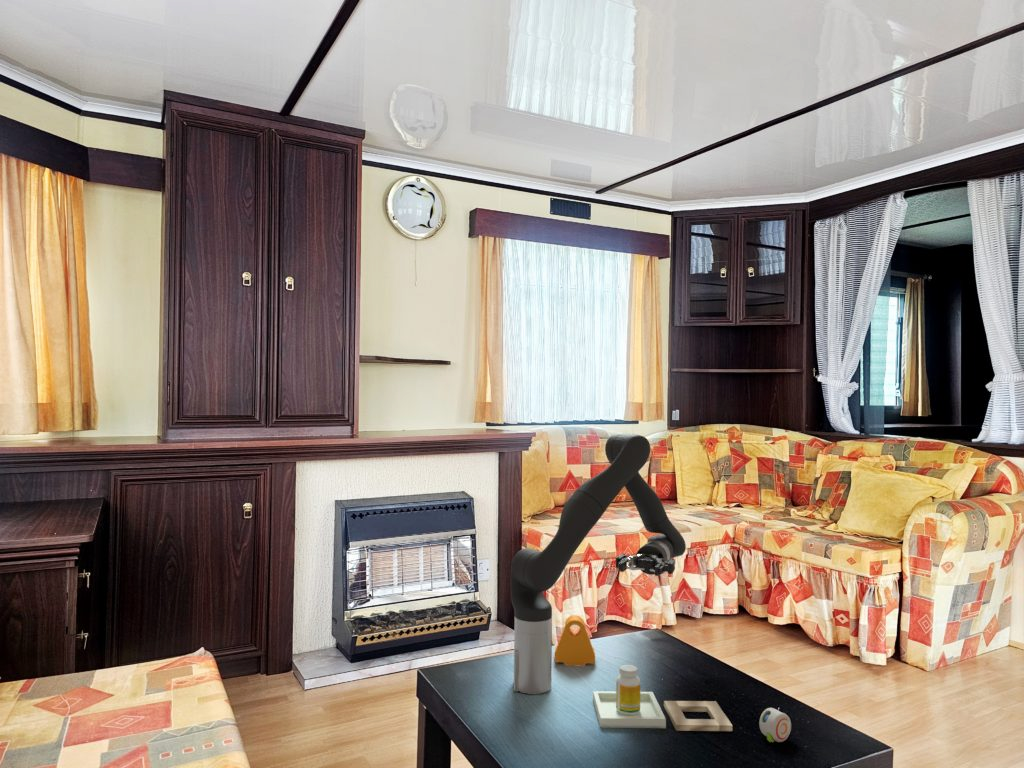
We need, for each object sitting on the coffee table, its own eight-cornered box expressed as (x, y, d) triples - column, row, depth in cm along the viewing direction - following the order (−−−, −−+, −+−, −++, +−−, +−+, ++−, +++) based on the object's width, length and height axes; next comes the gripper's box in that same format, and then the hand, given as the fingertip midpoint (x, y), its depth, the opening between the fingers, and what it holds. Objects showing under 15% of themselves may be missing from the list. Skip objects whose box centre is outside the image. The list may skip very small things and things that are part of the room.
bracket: (594, 656, 191) (594, 612, 191) (595, 666, 184) (595, 621, 184) (555, 655, 192) (555, 611, 192) (554, 664, 184) (554, 619, 185)
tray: (600, 727, 149) (600, 718, 149) (593, 699, 163) (593, 691, 163) (665, 728, 149) (665, 718, 149) (652, 700, 163) (652, 691, 163)
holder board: (676, 730, 148) (676, 724, 148) (663, 706, 160) (663, 700, 160) (732, 731, 148) (732, 725, 148) (715, 706, 160) (715, 701, 160)
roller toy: (755, 737, 145) (755, 709, 145) (776, 730, 148) (776, 703, 149) (772, 746, 141) (772, 717, 142) (793, 739, 144) (793, 711, 145)
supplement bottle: (611, 708, 157) (611, 665, 157) (631, 704, 159) (631, 661, 160) (625, 717, 152) (625, 673, 153) (645, 713, 155) (645, 670, 155)
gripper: (627, 539, 185) (610, 550, 170) (681, 545, 179) (668, 557, 164) (626, 568, 184) (609, 581, 170) (680, 574, 179) (668, 588, 164)
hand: (638, 569), depth 167 cm, fingers open, 8 cm apart
